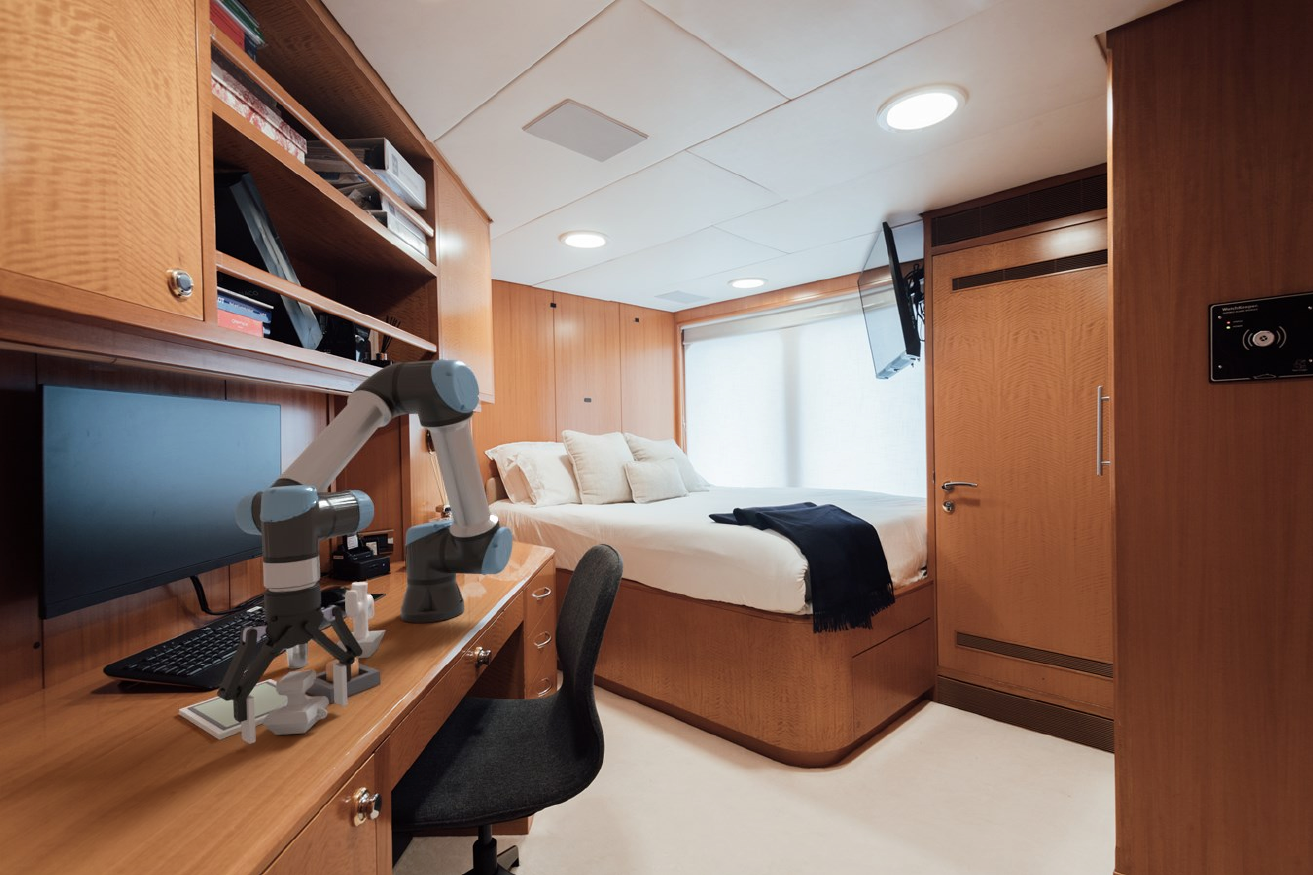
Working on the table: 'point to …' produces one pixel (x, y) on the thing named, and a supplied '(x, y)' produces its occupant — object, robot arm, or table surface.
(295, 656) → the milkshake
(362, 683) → the button housing
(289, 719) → the stamp
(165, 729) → the table surface
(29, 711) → the table surface
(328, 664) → the button
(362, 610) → the figurine
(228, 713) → the board
